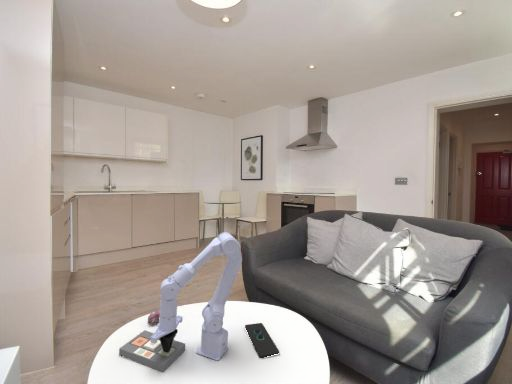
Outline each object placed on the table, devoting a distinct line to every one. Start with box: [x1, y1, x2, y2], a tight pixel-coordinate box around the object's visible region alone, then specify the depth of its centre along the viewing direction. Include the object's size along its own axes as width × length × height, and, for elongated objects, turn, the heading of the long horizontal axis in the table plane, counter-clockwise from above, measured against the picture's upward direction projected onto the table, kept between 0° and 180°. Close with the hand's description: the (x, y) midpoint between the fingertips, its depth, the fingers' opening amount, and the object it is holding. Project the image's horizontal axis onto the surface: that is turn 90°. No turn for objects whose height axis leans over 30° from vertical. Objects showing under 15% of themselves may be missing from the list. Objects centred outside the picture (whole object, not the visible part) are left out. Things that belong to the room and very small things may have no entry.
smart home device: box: [244, 322, 280, 359], centre depth 106 cm, size 8×2×20 cm
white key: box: [144, 340, 162, 352], centre depth 95 cm, size 4×4×2 cm
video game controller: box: [147, 309, 160, 324], centre depth 114 cm, size 10×5×7 cm
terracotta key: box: [131, 337, 149, 347], centre depth 97 cm, size 4×4×2 cm
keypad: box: [118, 330, 186, 373], centre depth 95 cm, size 19×12×3 cm, turn 70°
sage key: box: [157, 347, 176, 357], centre depth 93 cm, size 4×4×2 cm
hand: (166, 350), depth 93 cm, fingers closed, pressing on sage key
